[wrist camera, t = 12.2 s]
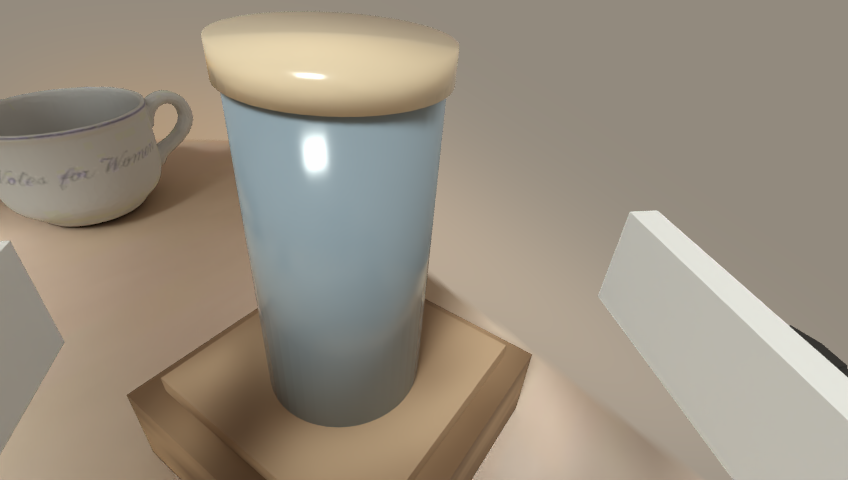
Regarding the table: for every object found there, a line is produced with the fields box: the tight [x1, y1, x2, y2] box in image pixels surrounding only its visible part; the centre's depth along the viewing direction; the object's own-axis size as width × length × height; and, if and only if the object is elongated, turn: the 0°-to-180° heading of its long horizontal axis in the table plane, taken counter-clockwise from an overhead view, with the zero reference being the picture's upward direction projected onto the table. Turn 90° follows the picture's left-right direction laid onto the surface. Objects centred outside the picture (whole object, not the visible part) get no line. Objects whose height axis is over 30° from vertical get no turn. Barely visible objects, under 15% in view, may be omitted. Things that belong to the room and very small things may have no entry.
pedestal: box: [127, 299, 532, 480], centre depth 21 cm, size 12×12×5 cm
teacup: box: [0, 87, 193, 227], centre depth 35 cm, size 14×11×8 cm
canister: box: [201, 11, 459, 427], centre depth 16 cm, size 6×6×13 cm
